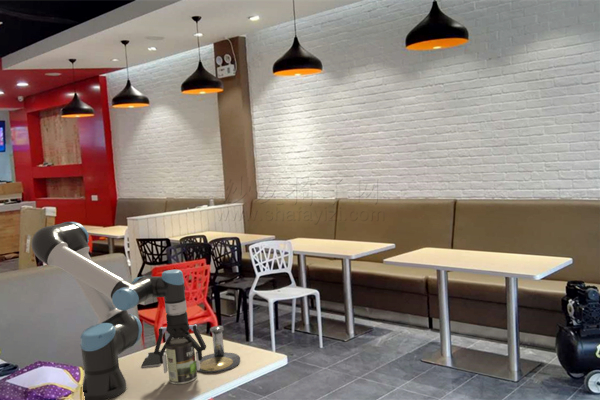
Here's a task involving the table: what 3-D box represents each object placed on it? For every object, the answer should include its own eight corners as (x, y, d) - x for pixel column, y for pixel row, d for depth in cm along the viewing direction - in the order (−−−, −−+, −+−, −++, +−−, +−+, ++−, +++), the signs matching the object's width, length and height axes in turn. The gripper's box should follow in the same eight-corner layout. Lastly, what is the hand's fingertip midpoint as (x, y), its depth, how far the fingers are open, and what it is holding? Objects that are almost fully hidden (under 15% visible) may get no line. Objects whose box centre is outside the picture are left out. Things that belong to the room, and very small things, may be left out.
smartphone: (141, 366, 216) (148, 352, 231) (141, 369, 216) (148, 355, 231) (160, 364, 217) (166, 350, 232) (160, 367, 217) (166, 353, 232)
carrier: (189, 375, 205) (186, 344, 204) (198, 356, 224) (195, 327, 223) (238, 371, 205) (235, 340, 204) (242, 352, 224) (239, 324, 223)
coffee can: (201, 373, 206) (198, 336, 205) (190, 384, 196) (187, 346, 195) (176, 372, 208) (172, 336, 207) (164, 384, 198) (160, 346, 197)
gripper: (141, 318, 196) (147, 377, 198) (207, 312, 197) (213, 371, 198) (146, 312, 204) (152, 369, 206) (210, 306, 204) (216, 363, 206)
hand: (182, 370), depth 202 cm, fingers open, 11 cm apart
